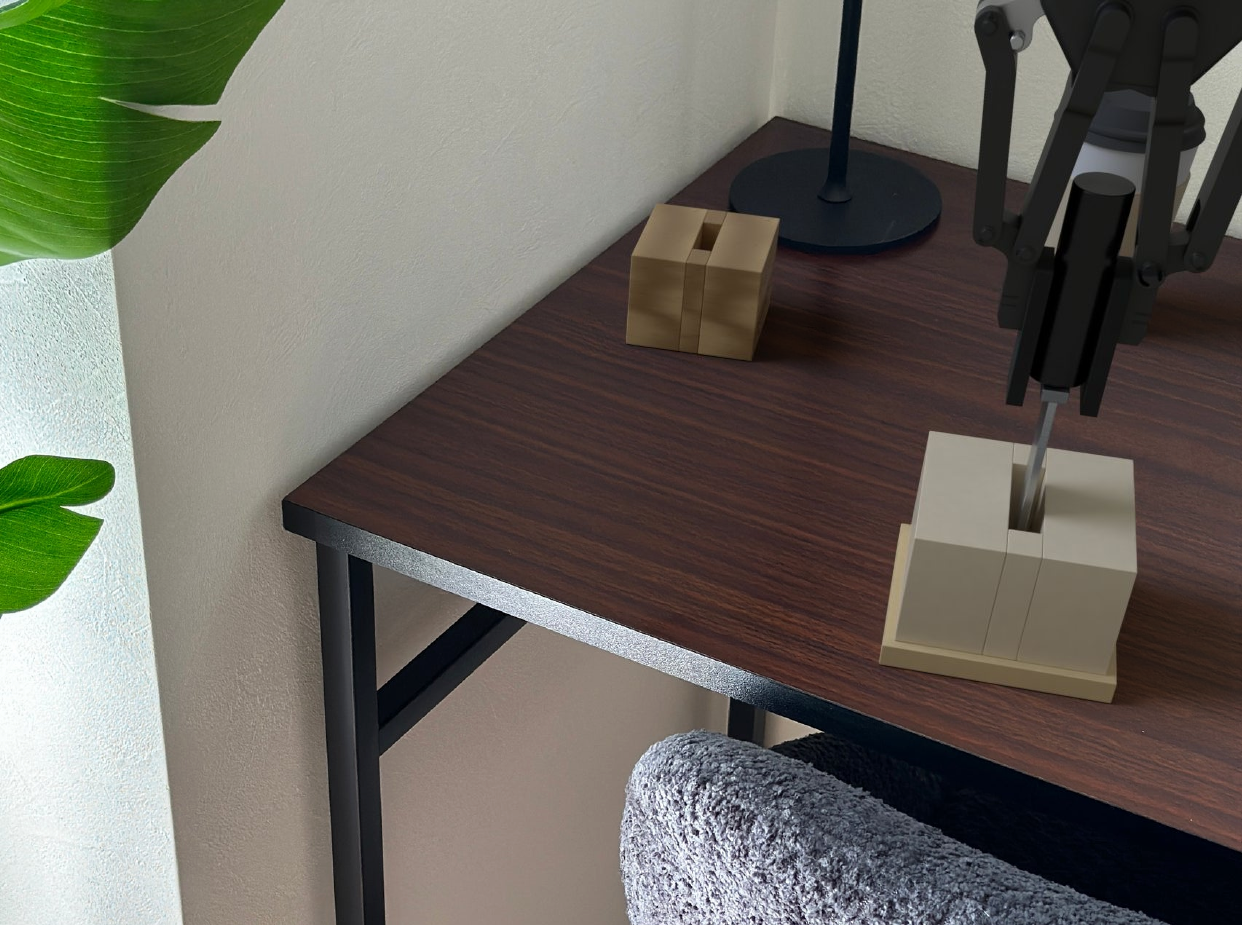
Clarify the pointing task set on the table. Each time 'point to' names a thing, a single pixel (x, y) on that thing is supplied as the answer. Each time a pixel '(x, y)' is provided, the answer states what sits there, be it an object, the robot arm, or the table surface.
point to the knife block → (701, 281)
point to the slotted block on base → (1014, 569)
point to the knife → (1075, 304)
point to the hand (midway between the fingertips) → (1051, 395)
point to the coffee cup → (1128, 153)
